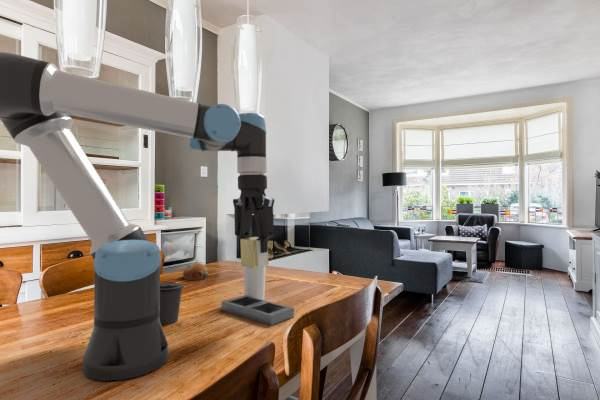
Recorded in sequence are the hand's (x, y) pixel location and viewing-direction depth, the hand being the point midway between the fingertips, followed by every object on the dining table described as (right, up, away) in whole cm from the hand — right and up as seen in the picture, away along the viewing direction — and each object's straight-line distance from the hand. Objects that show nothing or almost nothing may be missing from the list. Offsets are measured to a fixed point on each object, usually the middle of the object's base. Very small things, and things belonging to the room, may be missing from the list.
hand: (254, 263), depth 94 cm
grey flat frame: (0, -16, +9) cm, 18 cm away
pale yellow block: (0, 0, 0) cm, 0 cm away
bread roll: (-30, -16, +53) cm, 63 cm away
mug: (-2, -16, +22) cm, 28 cm away
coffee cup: (-23, -16, +1) cm, 28 cm away
